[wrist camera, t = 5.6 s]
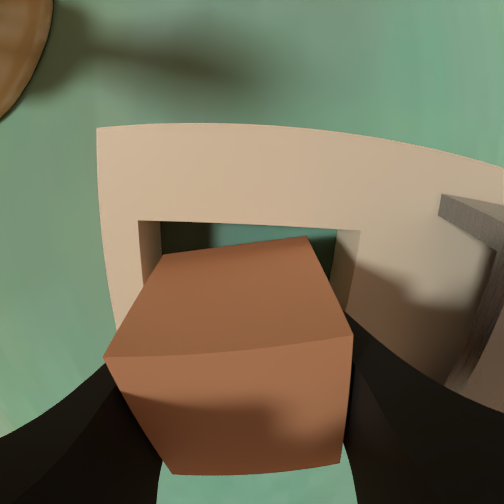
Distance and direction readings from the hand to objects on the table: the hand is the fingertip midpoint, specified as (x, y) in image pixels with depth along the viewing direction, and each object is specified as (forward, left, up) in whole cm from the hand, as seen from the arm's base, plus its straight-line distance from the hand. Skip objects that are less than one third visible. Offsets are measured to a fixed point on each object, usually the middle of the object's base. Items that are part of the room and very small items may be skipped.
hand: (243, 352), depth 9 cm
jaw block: (0, 0, -2) cm, 2 cm away
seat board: (0, +6, -4) cm, 7 cm away
